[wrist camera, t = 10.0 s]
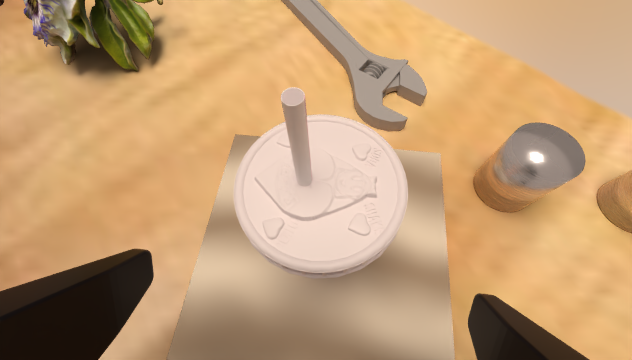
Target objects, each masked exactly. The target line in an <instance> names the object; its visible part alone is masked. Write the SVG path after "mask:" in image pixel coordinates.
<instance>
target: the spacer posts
mask: <svg viewBox="0 0 632 360" xmlns="http://www.w3.org/2000/svg"><path fill="white" fill-rule="evenodd" d="M584 166H585V155H584V152H583V149H582V148H581V146H580V144H579V143H578V142H577V141H576V140H575V139H574V138H573V137H572V136H571V135H570V134H568V133H567V132H566V131H564V130H562V129H560V128H558V127H556V126H553V125H550V124H545V123H529V124H525V125H523V126H521V127H520V128H518V129H517V130H516V131H515V132H514V133H513V134H512V135H511V136H510V137H509V138H508V139H507V140H506V141H505V142H504V143H503V145H502V146H501V147H500V148H499V149H498V150H497V151H496V152H495V153H494V154H493V155H492V156H491V157H490V158H489V159H488V160H487V161H486V162H485V163H484V164H483V165H482V166H481V167H480V168H479V169H478V170H477V172H476V173H475V176H474V188H475V190H476V192H477V194H478V196H479V197H480V198H481V200H482V201H483V202H484V203H486V204H487V205H488V206H490V207H492V208H494V209H496V210H499V211H502V212H516V211H519V210H521V209H523V208H525V207H526V206H528V205H530V204H531V203H533V202H535V201H536V200H538V199H540V198H541V197H543V196H545V195H546V194H548V193H550V192H551V191H553V190H555V189H556V188H558V187H560V186H561V185H563V184H565V183H566V182H568V181H570V180H571V179H573V178H575V177H576V176H578V175H579V174H580V173H581V172H582V171H583V169H584ZM597 201H598V205H599V207H600V209H601V211H602V212H603V214H604V215H605V216H606V217H607V218H608V219H609V220H610V221H611V222H612V223H613V224H615V225H616V226H618V227H619V228H621V229H623V230H625V231H628V232H631V233H632V170H631V171H629V172H627V173H625V174H623V175H621V176H619V177H617V178H615V179H613V180H611V181H609V182H607V183H605V184H604V185H602V186H601V187H600V188H599V190H598V193H597Z"/></svg>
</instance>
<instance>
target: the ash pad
mask: <svg viewBox="0 0 632 360" xmlns="http://www.w3.org/2000/svg"><path fill="white" fill-rule="evenodd" d="M259 138H260V137H258V136H248V135H237V134H235V137H234V140H233V144H232V147H231V150H230V154H229V157H228V160H227V163H226V167H225V170H224V173H223V176H222V180H221V183H220V186H219V189H218V193H217V196H216V199H215V203H214V206H213V209H212V212H211V216H210V219H209V222H208V225H207V229H206V232H205V235H204V238H203V242H202V245H201V248H200V251H199V255H198V258H197V261H196V265H195V268H194V271H193V274H192V278H191V281H190V284H189V287H188V291H187V294H186V297H185V300H184V304H183V307H182V310H181V314H180V317H179V320H178V323H177V327H176V330H175V333H174V336H173V340H172V343H171V346H170V349H169V353H168V356H167V359H166V360H455V353H454V339H453V325H452V310H451V296H450V282H449V268H448V254H447V240H446V226H445V211H444V197H443V183H442V169H441V155H440V153H432V152H421V151H410V150H399V149H393V150H394V151H395V152H396V154H397V156H398V157H399V159H400V161H401V163H402V166H403V168H404V171H405V174H406V179H407V185H408V201H407V207H406V212H405V215H404V218H403V221H402V223H401V225H400V227H399V229H398V232H397V234H396V236H395V239H394V240H393V241H392V243H391V244H390V245H389V246H388V247H387V249H386V250H385V251H384V252H383V254H382V255H381V256H380V257H379V258H377V259H376V260H374V261H373V262H371V263H370V264H368V265H367V266H365V267H364V268H363V269H361V270H358V271H355V272H352V273H349V274H346V275H343V276H340V277H337V278H316V279H312V278H308V277H303V276H299V275H295V274H290V273H288V272H286V271H284V270H282V269H281V268H279V267H277V266H275V265H273V264H271V263H270V262H268V261H267V260H266V259H265V258H264V257H263V256H262V255H261V254H260V253H259V252H258V251H257V250H256V249H255V248H254V247H253V246H252V244H251V242H250V241H249V239H248V237H247V235H246V234H245V232H244V231H243V229H242V227H241V225H240V223H239V220H238V218H237V214H236V211H235V205H234V183H235V177H236V174H237V171H238V168H239V166H240V163H241V161H242V159H243V157H244V156H245V154H246V153H247V151H248V150H249V149H250V147H251V146H252V145H253V144H254V143H255V142H256V141H257V140H258V139H259Z"/></svg>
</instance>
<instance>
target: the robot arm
mask: <svg viewBox="0 0 632 360" xmlns="http://www.w3.org/2000/svg"><path fill="white" fill-rule="evenodd" d="M152 281H153V265H152V256H151V253H150V251H148V250H143V249H131V250H128V251H125V252H122V253H119V254H116V255H113V256H109V257H106V258H103V259H100V260H97V261H94V262H91V263H88V264H84V265H81V266H78V267H75V268H72V269H69V270H66V271H62V272H59V273H56V274H53V275H50V276H47V277H44V278H41V279H37V280H34V281H31V282H28V283H25V284H22V285H19V286H16V287H12V288H9V289H6V290H3V291H0V360H98V359H99V358H100V357H101V355H102V354H103V353H104V352H105V350H106V349H107V348H108V346H109V345H110V344H111V343H112V341H113V340H114V339H115V337H116V336H117V335H118V333H119V332H120V330H121V329H122V328H123V326H124V325H125V323H126V322H127V320H128V319H129V317H130V316H131V314H132V312H133V311H134V309H135V308H136V306H137V305H138V303H139V302H140V300H141V299H142V297H143V295H144V294H145V292H146V291H147V289H148V288H149V286H150V285H151V283H152ZM468 328H469V332H470V335H471V339H472V342H473V346H474V349H475V353H476V356H477V360H589V359H588V358H586V357H585V356H583V355H582V354H580V353H579V352H577V351H576V350H574V349H573V348H571V347H570V346H568V345H567V344H565V343H564V342H562V341H561V340H559V339H558V338H556V337H555V336H554V335H552V334H551V333H549V332H548V331H546V330H545V329H543V328H542V327H540V326H539V325H537V324H536V323H534V322H533V321H531V320H530V319H528V318H527V317H525V316H524V315H522V314H521V313H519V312H518V311H517V310H515V309H514V308H512V307H511V306H509V305H508V304H506V303H505V302H503V301H502V300H500V299H499V298H497V297H496V296H494V295H488V294H480V293H479V294H477V295H476V296H475V297H474V300H473V304H472V307H471V311H470V314H469V318H468Z"/></svg>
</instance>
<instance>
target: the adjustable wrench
mask: <svg viewBox="0 0 632 360" xmlns="http://www.w3.org/2000/svg"><path fill="white" fill-rule="evenodd" d="M281 1H282V2H283V3H284V4H285V5H286V6H287V7H288V8H289V9H290V10H291V11H292V12H293V13H294V14H295V15H296V17H297V18H298V19H299V20H300V21H301V22H302V23H303V24H304V25H305V26H306V27H307V28H308V29H309V30H310V31H311V32H312V34H313V35H314V36H315V37H316V38H317V39H318V40H319V41H320V42H321V43H322V44H323V45H324V46H325V47H326V48H327V49H328V51H329V52H330V53H331V54H332V55H333V56H334V57H335V58H336V59H337V60H338V61H339V62H340V63H341V64H342V66H343V67H344V68H345V70H346V72H347V74H348V77H349V80H350V83H351V87H352V91H353V98H354V105H355V109H356V112H357V113H358V115H359V116H360V118H361V119H362V120H363V121H364V122H366V123H367V124H369V125H370V126H372V127H375V128H377V129H381V130H386V131H400V130H402V129H403V128H404V126H405V124H406V121H407V117H405V116H403V115H401V114H399V113H397V112H395V111H393V110H391V109H389V108H387V107H385V106H383V105H382V98H383V97H384V96H385V95H386V94H387V93H389V92H392V91H397V95H399V96H401V97H403V98H405V99H407V100H409V101H411V102H413V103H415V104H417V105H419V106H421V104H422V103H423V101H424V99H425V96H426V94H427V90H426V86H425V84H424V82H423V80H422V78H421V77H420V76H419V74H418V73H417V72H416V71H415V70H413V69H412V68H411V67H410V66H409V65H407V63H408V60H405V59H404V60H394V59H389V58H385V57H381V56H378V55H375V54H373V53H371V52H369V51H367V50H366V49H365V48H363V47H362V46H361V45H360V44H359V43H358V42H357V41H356V40H355V39H354V38H353V37H352V36H351V35H350V34H349V33H348V32H347V31H346V30H345V29H344V28H343V27H342V26H341V25H340V24H339V23H338V22H337V20H336V19H335V18H334V17H333V16H332V15H331V14H330V13H329V12H328V11H327V10H326V9H325V8H324V7H323V6H322V5H321V4H320V3H319V2H318V1H317V0H281Z"/></svg>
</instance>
